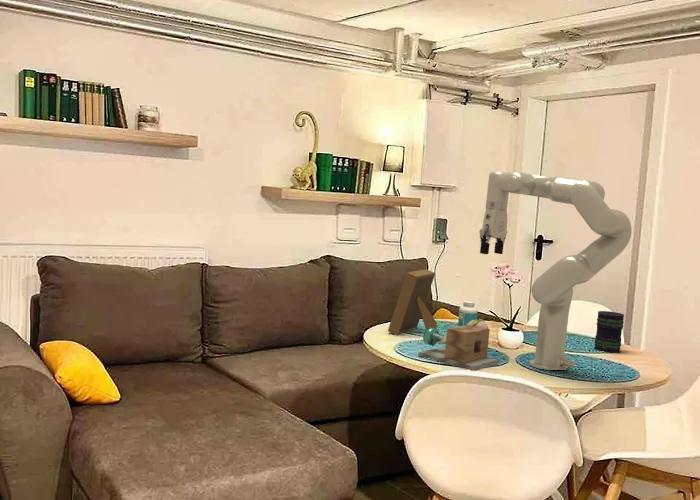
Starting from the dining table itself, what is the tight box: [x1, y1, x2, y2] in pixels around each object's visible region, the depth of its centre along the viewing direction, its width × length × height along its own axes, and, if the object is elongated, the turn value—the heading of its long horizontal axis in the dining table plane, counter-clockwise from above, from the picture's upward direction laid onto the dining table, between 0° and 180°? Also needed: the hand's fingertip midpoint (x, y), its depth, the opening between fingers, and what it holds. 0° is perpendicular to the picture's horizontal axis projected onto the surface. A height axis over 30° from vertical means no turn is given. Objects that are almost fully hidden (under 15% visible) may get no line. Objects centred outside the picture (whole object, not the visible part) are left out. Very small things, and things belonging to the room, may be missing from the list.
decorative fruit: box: [467, 316, 489, 329], centre depth 273 cm, size 9×8×10 cm
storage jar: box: [594, 310, 625, 354], centre depth 277 cm, size 10×10×15 cm
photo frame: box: [387, 268, 438, 336], centre depth 282 cm, size 15×22×25 cm
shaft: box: [422, 327, 447, 347], centre depth 242 cm, size 16×6×6 cm, turn 49°
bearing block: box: [417, 325, 499, 371], centre depth 239 cm, size 22×16×12 cm
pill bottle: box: [457, 300, 478, 327], centre depth 288 cm, size 8×7×14 cm
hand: (491, 253), depth 253 cm, fingers open, 9 cm apart
